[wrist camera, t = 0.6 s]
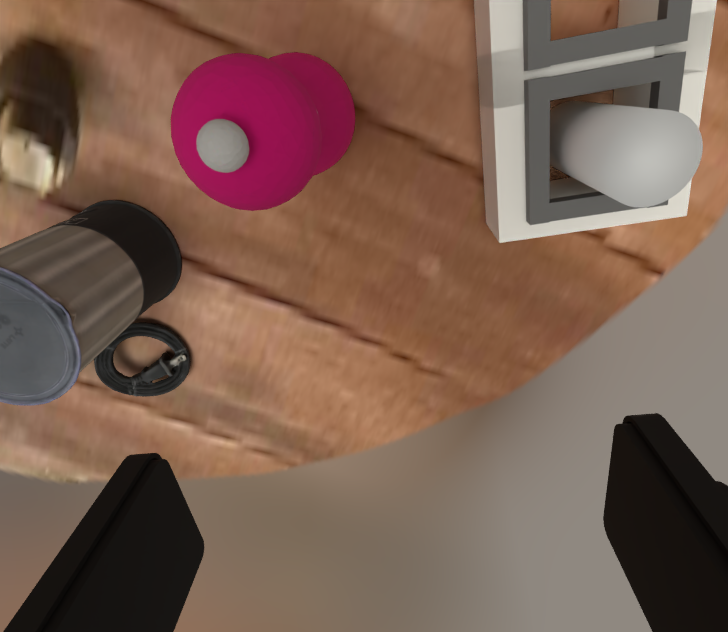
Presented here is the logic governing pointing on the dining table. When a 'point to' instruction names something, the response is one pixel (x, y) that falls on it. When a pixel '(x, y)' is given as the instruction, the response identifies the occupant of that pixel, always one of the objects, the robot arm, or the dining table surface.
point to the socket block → (589, 115)
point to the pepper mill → (260, 126)
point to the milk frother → (86, 303)
